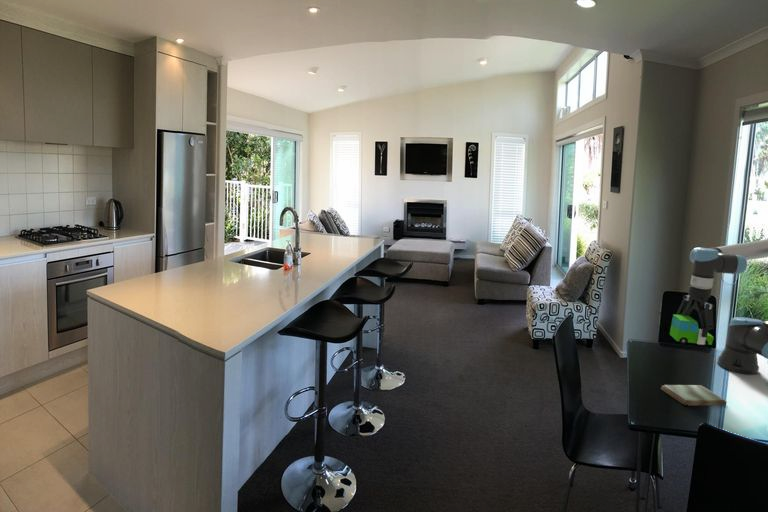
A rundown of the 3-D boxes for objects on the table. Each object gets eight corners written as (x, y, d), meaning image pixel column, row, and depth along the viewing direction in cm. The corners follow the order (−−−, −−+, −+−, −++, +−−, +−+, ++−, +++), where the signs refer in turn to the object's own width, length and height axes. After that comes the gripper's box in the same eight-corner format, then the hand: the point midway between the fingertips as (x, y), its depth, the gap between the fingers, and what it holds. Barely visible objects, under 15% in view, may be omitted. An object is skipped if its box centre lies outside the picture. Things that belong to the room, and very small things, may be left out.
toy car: (713, 349, 194) (718, 325, 192) (677, 344, 196) (681, 321, 194) (702, 340, 204) (707, 317, 202) (668, 336, 206) (672, 313, 204)
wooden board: (700, 389, 195) (701, 384, 195) (725, 405, 182) (727, 400, 182) (660, 389, 193) (661, 384, 193) (684, 405, 180) (685, 400, 180)
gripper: (672, 279, 206) (663, 329, 211) (713, 294, 184) (703, 349, 188) (688, 280, 207) (679, 329, 211) (732, 294, 185) (720, 350, 189)
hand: (690, 339), depth 200 cm, fingers closed on toy car, 10 cm apart
